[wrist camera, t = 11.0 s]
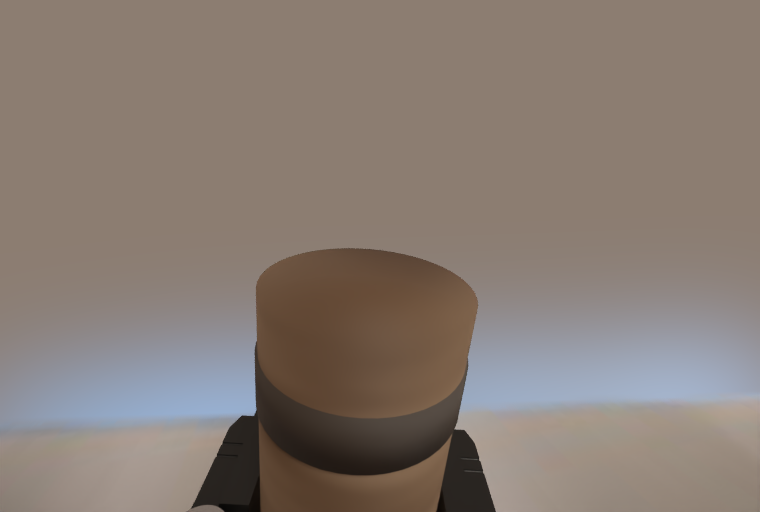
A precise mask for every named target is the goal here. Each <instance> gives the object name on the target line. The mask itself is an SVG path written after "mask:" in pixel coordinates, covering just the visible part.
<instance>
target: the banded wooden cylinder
mask: <svg viewBox="0 0 760 512" xmlns="http://www.w3.org/2000/svg"><path fill="white" fill-rule="evenodd" d="M477 308H478V301H477V297H476V295H475V293H474V291H473V290H472V288H471V287H470V286H469V285H468V284H467V283H466V282H465V281H464V280H463V279H461V278H460V277H459V276H457V275H456V274H454V273H452V272H451V271H449V270H447V269H445V268H443V267H441V266H438V265H436V264H434V263H431V262H428V261H426V260H423V259H419V258H416V257H412V256H408V255H404V254H399V253H394V252H387V251H381V250H372V249H353V248H351V249H350V248H348V249H347V248H346V249H345V248H344V249H327V250H318V251H312V252H307V253H302V254H298V255H295V256H292V257H288V258H286V259H283V260H281V261H279V262H277V263H275V264H274V265H272V266H270V267H269V268H268V269H266V270H265V271H264V272H263V274H262V275H261V276H260V278H259V279H258V281H257V286H256V309H257V310H256V311H257V342H256V346H255V383H256V384H255V385H256V409H257V413H258V417H259V459H260V507H261V512H436V511H437V506H438V501H439V496H440V491H441V486H442V481H443V476H444V471H445V466H446V461H447V456H448V452H449V447H450V442H451V437H452V433H453V431H454V429H455V426H456V423H457V420H458V415H459V410H460V405H461V400H462V395H463V390H464V386H465V381H466V376H467V370H468V353H469V348H470V343H471V338H472V333H473V328H474V323H475V318H476V314H477Z"/></svg>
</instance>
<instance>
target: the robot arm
mask: <svg viewBox="0 0 760 512" xmlns="http://www.w3.org/2000/svg"><path fill="white" fill-rule="evenodd" d="M187 512H261V507H260V459H259V417H258V413H257V410H256V413H255V415H254V416H241V417H240V418H239V419H238V420H237V421H236V422H235V423H234V424H233V425H232V426H231V427H230V428H229V430H228V432H227V434H226V436H225V438H224V440H223V444H222V445H221V447H220V449H219V451H218V453H217V457H215V460H214V462H213V464H212V466H211V468H210V470H209V472H208V475H207V477H206V479H205V481H204V483H203V485H202V487H201V489H200V492H199V494H198V496H197V498H196V500H195V502H194V504H193V506H192V508H191V509H190V510H188V511H187ZM436 512H496V511H495V508H494V504H493V501H492V498H491V495H490V491H489V488H488V485H487V482H486V478H485V475H484V474H483V469H482V465H481V462H480V461H479V456H478V452H477V449H476V446H475V443H474V442H473V441H472V439H471V438H470V437H469V435H468V434H467V433H466V431H465V430H454V431H453V433H452V437H451V442H450V447H449V452H448V456H447V461H446V466H445V471H444V476H443V481H442V486H441V491H440V496H439V501H438V506H437V511H436Z"/></svg>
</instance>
